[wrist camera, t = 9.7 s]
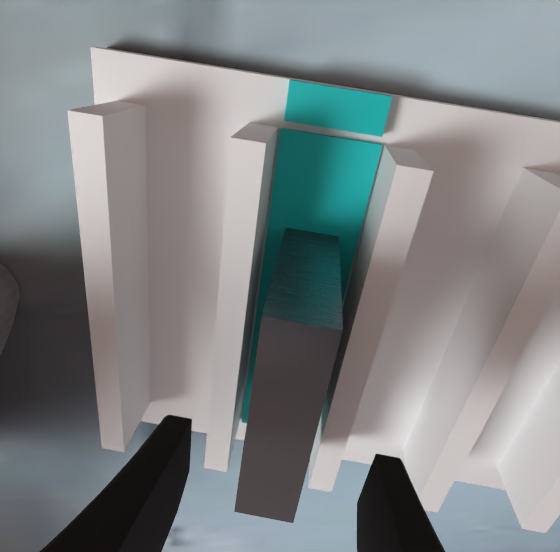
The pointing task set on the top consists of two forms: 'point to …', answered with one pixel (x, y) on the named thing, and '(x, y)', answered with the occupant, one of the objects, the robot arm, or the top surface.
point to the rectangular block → (291, 373)
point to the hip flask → (7, 304)
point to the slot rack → (353, 267)
